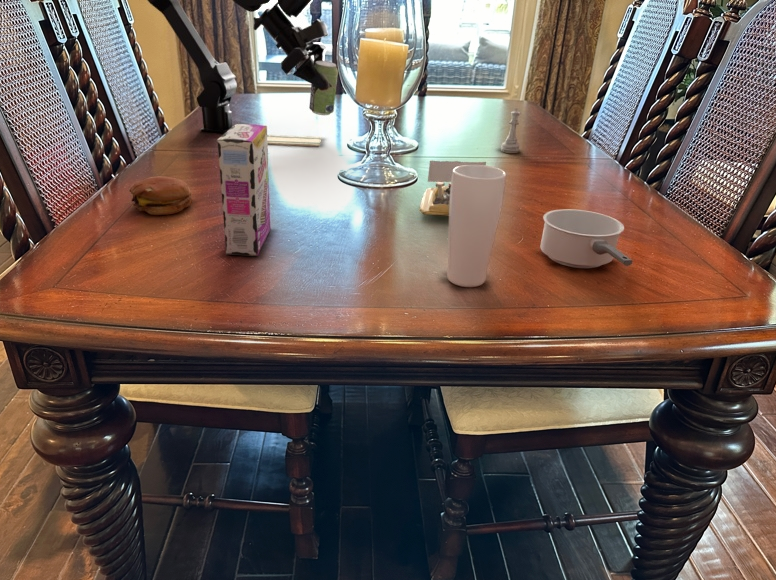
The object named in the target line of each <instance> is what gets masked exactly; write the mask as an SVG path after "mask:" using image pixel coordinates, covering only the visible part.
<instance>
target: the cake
mask: <svg viewBox="0 0 776 580" xmlns="http://www.w3.org/2000/svg"><path fill="white" fill-rule="evenodd" d="M462 165H485V166H487V162H486V161H479V162H478V161H477V162H476V161H458V160H454V161H453V160H452V161H449V160H445V161H444V160H443V161H440V160H429V165H428V167H429V168H428V174H427V182H433V183H435V186H434V187H427V188H426V189H425V191H424V193H423V195H422V196H421V201H420V206H419V212H420V213H421V214H423V215H432V216H446V217H447V216H448V217H449V199H450V188H451V181H452V174H453V169H454V168H456V167H458V166H462ZM446 183H448V185H447V186H445V185H446ZM540 205H541V206H543V203H540Z"/></svg>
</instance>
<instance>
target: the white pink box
mask: <svg viewBox="0 0 776 580" xmlns="http://www.w3.org/2000/svg"><path fill="white" fill-rule="evenodd" d="M232 126H233V127H232V128H231V129H230V130H228V131H227V132H225V133H223V134H222V135H220V137H219V138H217V140H216V142H217V151H218V165H219V166H218V167H219V179H220V191H221V192H220V193H221V204H222V217H223V229H224V240H225V242H224V243H225V254H226V255H229V256H231V255H232V256H246V257H258V256H259V254H260V252H261V249H262V248H263V245H264V243H265V242H266V239H267V238H268V236H269V233H270V232H271V205H270V183H269V182H270V181H269V180H270V179H269V148H268V144H267V135H268V126H267V125H263V124H252V123H251V124H250V123H235V124H234V125H232Z"/></svg>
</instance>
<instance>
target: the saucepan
mask: <svg viewBox="0 0 776 580" xmlns="http://www.w3.org/2000/svg"><path fill="white" fill-rule="evenodd" d="M542 218H543V221H544V225H543V231H542V236H541V241H540V250H541V252H542V253H543V254H544V255H546V256H547V257H548V258H549V259H550V260H551V261H553V262H555V263H557V264H560V265H563V266H567V267H571V268H578V269H595V268H598V267H601V266H602V265H607V264H609V263H611V262H612V261H613V260H614V259H615V260H617V261H618V262H619V263H621V265H624V266H625V267H630V266H631V265H632V264H633V262H634V261H633V260H632V258H630V257H628V256H627V255H625V254H624V252H622V251H620V250H619V249H617V246H618V242H619V239H620V235H621V233H623V232H624V230H625V226H624V224H623V223H622V222H621V221H620V220H618V219H616V218H614V217H612V216H609V215H607V214H603V213H600V212H595V211H591V210H585V209H575V208H573V209H572V208H570V209H568V208H566V209H562V208H561V209H554V210H550V211H547V212H545V213H544V214H543V216H542Z"/></svg>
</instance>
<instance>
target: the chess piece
mask: <svg viewBox="0 0 776 580" xmlns="http://www.w3.org/2000/svg"><path fill="white" fill-rule="evenodd" d="M510 115H511V119H510V121H508V124H509V125H510V129H509V133H508V135H507V137H506V138H505V141H503V142H502V144H501V147H500V151H501V152H502V153H506V154H518V153H519V152H520V143H519V142H518V138H517V126H518V125H520V122H519V120H518V118H519V117H520V115H521V112H520V111H518V108H515V109H514V110H513V111H510Z"/></svg>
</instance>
